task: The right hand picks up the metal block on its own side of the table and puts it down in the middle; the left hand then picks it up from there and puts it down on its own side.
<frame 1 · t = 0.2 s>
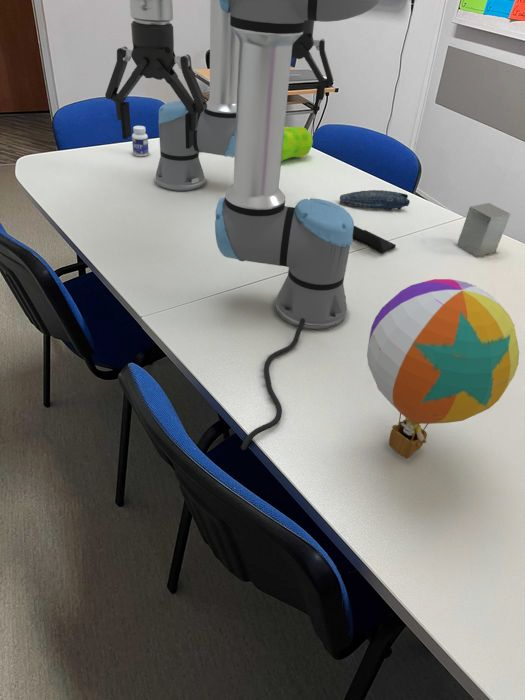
left hand: (158, 142, 107), 28 cm above the table, tool pointing down, fingers open, 13 cm apart
right hand: (289, 109, 135), 28 cm above the table, tool pointing down, fingers open, 13 cm apart
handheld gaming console: (368, 245, 139), on the table
pill bottle: (141, 154, 181), on the table
fish model: (372, 206, 160), on the table
toy: (403, 449, 84), on the table
metal block: (475, 248, 142), on the table
decorative tree: (271, 157, 188), on the table
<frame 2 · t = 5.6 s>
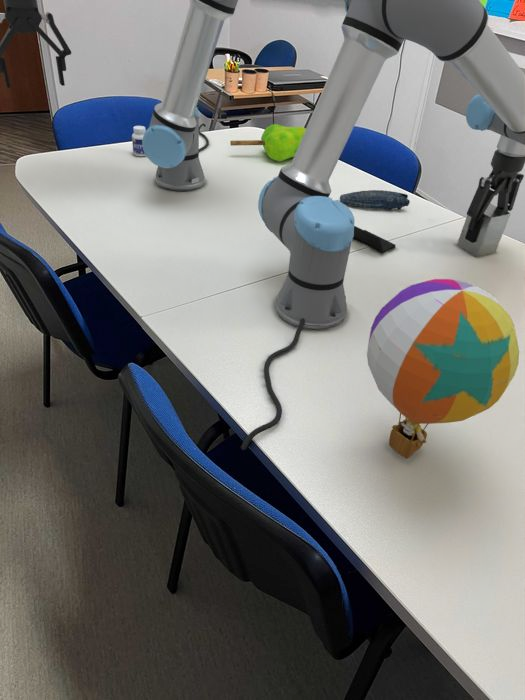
left hand: (35, 85, 138), 27 cm above the table, tool pointing down, fingers open, 13 cm apart
right hand: (480, 237, 140), 3 cm above the table, tool pointing down, fingers closed on metal block, 7 cm apart
metal block: (475, 248, 142), on the table, touching right hand
everything else where it was.
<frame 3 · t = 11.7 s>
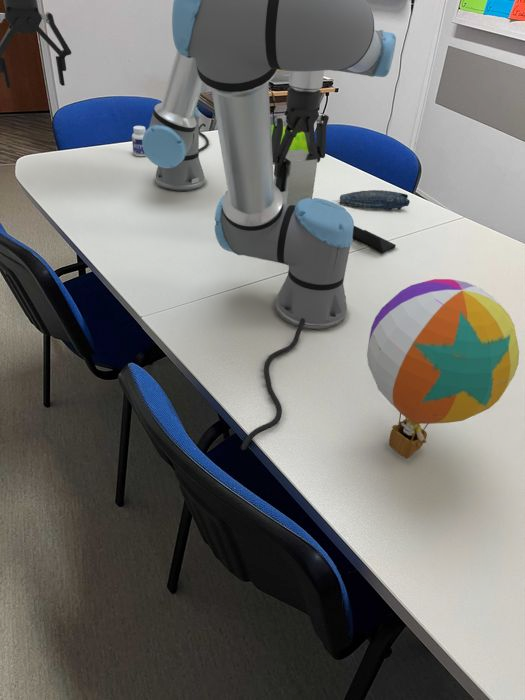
left hand: (35, 85, 138), 27 cm above the table, tool pointing down, fingers open, 13 cm apart
right hand: (293, 188, 129), 14 cm above the table, tool pointing down, fingers closed on metal block, 7 cm apart
metal block: (291, 200, 131), point 11 cm above the table, touching right hand
everything else where it was.
when the right hand's fingers open (5 cm above the table, at t = 17.7 s): metal block drops 1 cm, on the table.
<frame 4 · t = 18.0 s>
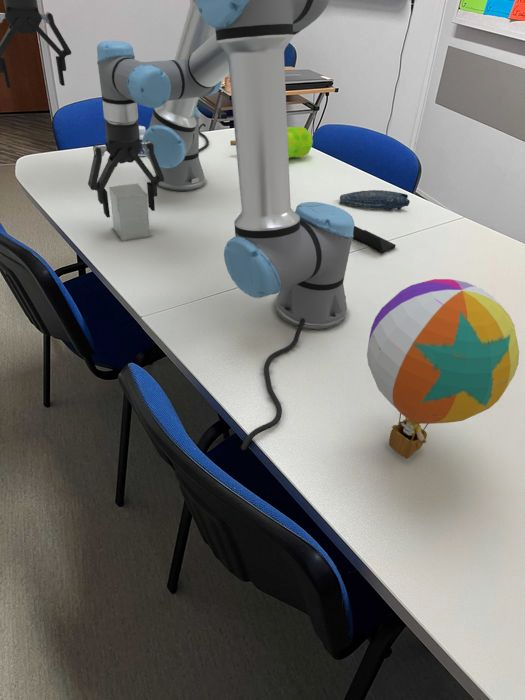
left hand: (35, 85, 138), 27 cm above the table, tool pointing down, fingers open, 13 cm apart
right hand: (129, 211, 131), 6 cm above the table, tool pointing down, fingers open, 11 cm apart
metal block: (131, 232, 135), on the table
everything else where it was.
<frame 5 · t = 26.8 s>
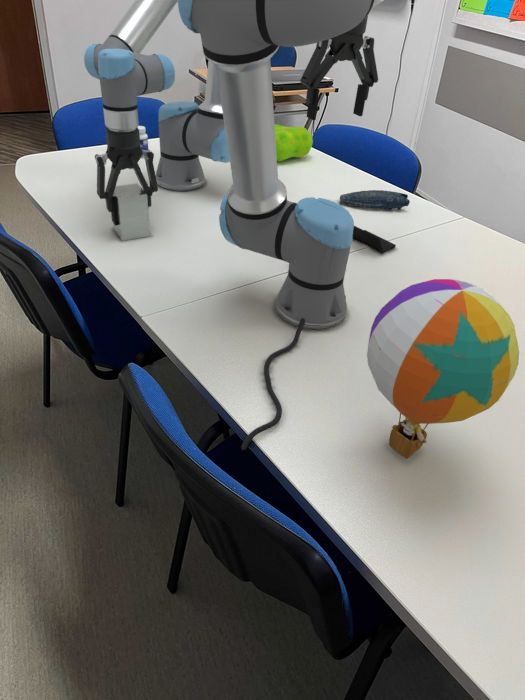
left hand: (130, 220, 133), 3 cm above the table, tool pointing down, fingers closed on metal block, 7 cm apart
right hand: (334, 116, 123), 30 cm above the table, tool pointing down, fingers open, 13 cm apart
metal block: (131, 232, 135), on the table, touching left hand
everything else where it was.
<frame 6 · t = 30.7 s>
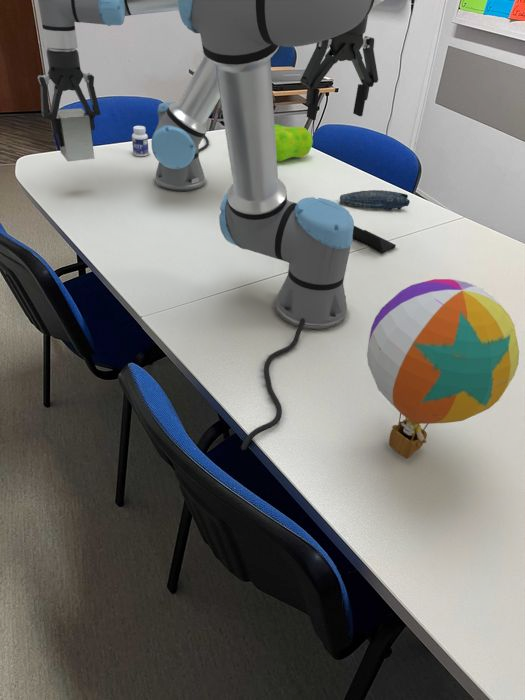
left hand: (75, 143, 143), 14 cm above the table, tool pointing down, fingers closed on metal block, 7 cm apart
right hand: (334, 116, 123), 30 cm above the table, tool pointing down, fingers open, 13 cm apart
metal block: (77, 155, 145), point 11 cm above the table, touching left hand
everything else where it was.
when the left hand's fingers open (5 cm above the table, at t = 34.4 s): metal block drops 1 cm, on the table.
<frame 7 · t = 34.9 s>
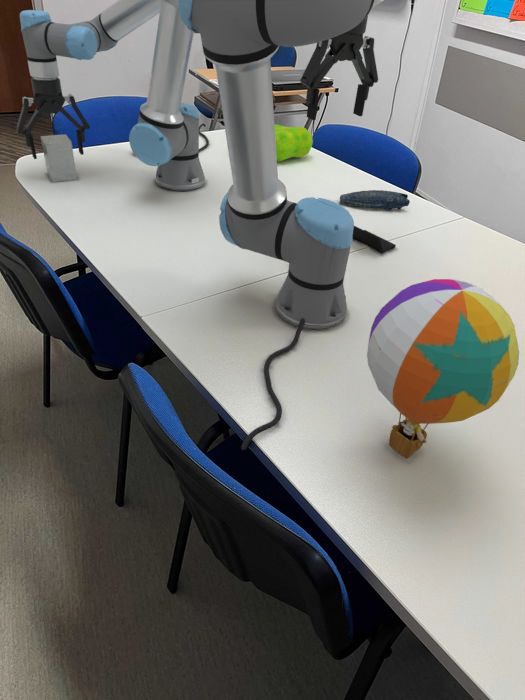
left hand: (58, 155, 156), 6 cm above the table, tool pointing down, fingers open, 13 cm apart
right hand: (334, 116, 123), 30 cm above the table, tool pointing down, fingers open, 13 cm apart
metal block: (62, 176, 160), on the table
everything else where it was.
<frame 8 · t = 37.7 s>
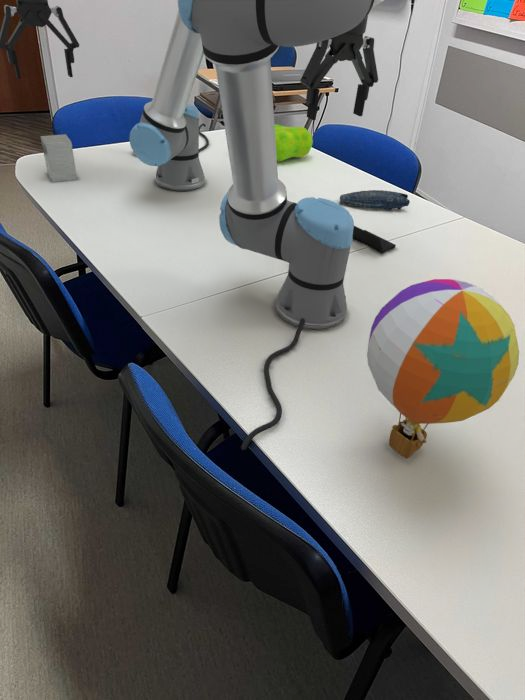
left hand: (45, 77, 143), 28 cm above the table, tool pointing down, fingers open, 13 cm apart
right hand: (334, 116, 123), 30 cm above the table, tool pointing down, fingers open, 13 cm apart
nothing on the table moved.
at the end: metal block inside the target area (0.1 cm from its centre), on the table; metal block tilted 0°; the two hands never held the metal block at the same time; the left hand is holding nothing; the right hand is holding nothing; metal block at rest at the end (0.0 cm/s) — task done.
